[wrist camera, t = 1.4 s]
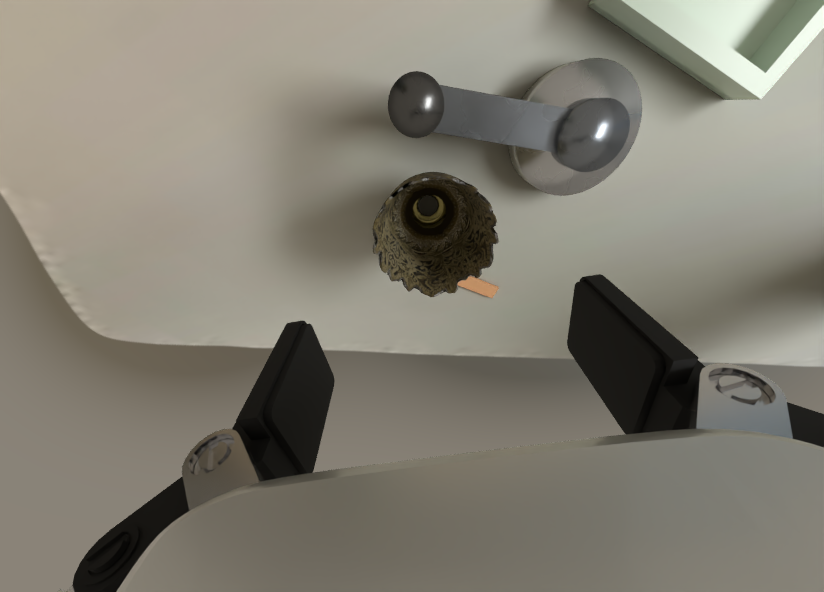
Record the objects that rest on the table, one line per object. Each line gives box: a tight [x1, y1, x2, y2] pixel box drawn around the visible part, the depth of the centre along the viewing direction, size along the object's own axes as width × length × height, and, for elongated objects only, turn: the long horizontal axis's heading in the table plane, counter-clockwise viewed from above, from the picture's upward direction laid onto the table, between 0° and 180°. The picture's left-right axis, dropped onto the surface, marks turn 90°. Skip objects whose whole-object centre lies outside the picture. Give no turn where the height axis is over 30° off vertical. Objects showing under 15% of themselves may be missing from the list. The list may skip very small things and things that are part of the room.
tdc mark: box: [458, 276, 499, 298], centre depth 28 cm, size 5×1×1 cm, turn 67°
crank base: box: [509, 58, 642, 195], centre depth 21 cm, size 8×8×2 cm
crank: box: [388, 71, 630, 172], centre depth 17 cm, size 14×4×6 cm, turn 82°
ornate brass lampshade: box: [373, 172, 499, 297], centre depth 21 cm, size 8×7×8 cm
